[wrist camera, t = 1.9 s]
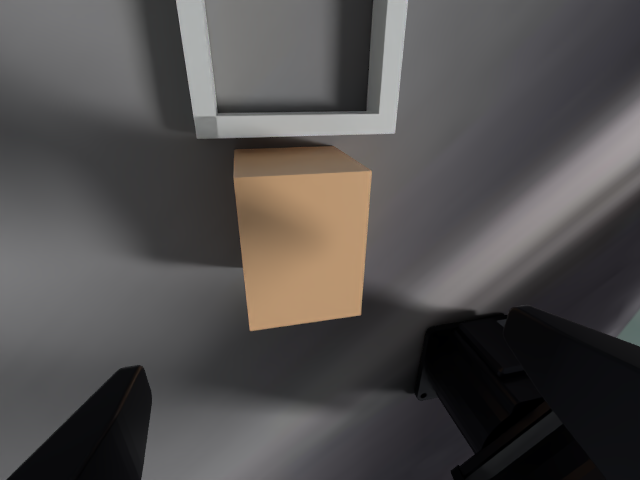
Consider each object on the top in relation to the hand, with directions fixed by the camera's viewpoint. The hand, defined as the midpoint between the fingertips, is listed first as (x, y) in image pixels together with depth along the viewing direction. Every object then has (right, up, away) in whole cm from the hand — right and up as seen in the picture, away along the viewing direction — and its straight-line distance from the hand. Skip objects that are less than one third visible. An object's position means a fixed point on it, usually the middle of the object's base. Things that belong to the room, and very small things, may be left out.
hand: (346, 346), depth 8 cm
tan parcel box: (-2, +4, +8) cm, 10 cm away
